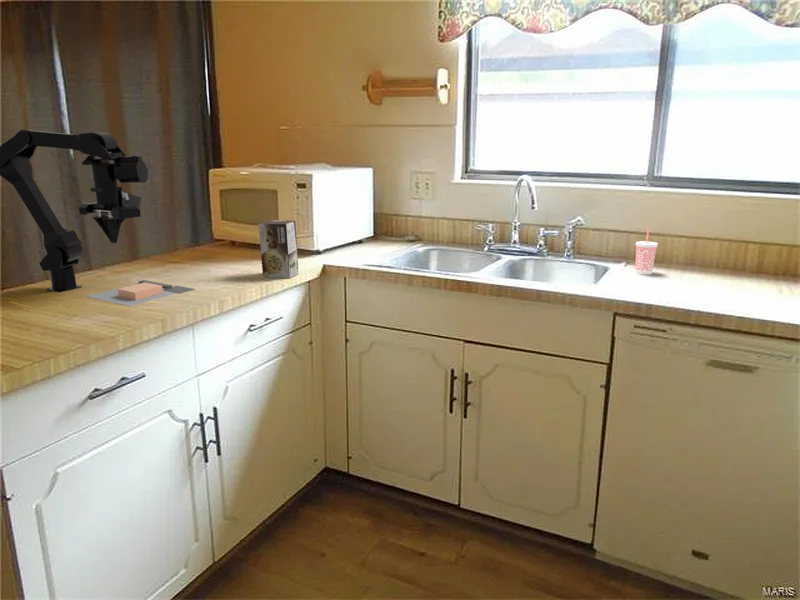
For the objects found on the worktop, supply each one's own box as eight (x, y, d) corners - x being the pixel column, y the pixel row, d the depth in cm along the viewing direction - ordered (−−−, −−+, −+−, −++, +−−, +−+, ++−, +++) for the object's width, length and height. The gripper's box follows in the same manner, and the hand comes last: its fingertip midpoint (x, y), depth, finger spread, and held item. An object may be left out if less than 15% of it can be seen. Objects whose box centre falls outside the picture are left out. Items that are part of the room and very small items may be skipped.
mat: (85, 297, 153) (85, 296, 152) (140, 284, 166) (140, 282, 166) (129, 307, 144) (129, 306, 143) (183, 292, 157) (182, 291, 157)
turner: (133, 285, 164) (133, 282, 164) (149, 282, 168) (149, 278, 168) (179, 295, 155) (179, 291, 154) (194, 290, 159) (194, 287, 158)
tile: (117, 289, 151) (134, 292, 148) (144, 282, 158) (162, 285, 154) (118, 296, 152) (135, 300, 148) (145, 289, 158) (162, 293, 155)
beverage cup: (628, 271, 177) (632, 225, 174) (642, 269, 180) (647, 223, 176) (644, 275, 172) (649, 228, 168) (659, 273, 175) (664, 226, 171)
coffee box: (299, 273, 177) (296, 220, 173) (290, 278, 171) (286, 223, 167) (271, 272, 179) (268, 219, 175) (261, 277, 173) (257, 222, 169)
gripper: (155, 182, 154) (162, 241, 158) (113, 179, 163) (121, 235, 167) (116, 185, 144) (124, 248, 149) (73, 182, 154) (82, 241, 158)
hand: (114, 242), depth 156 cm, fingers closed
